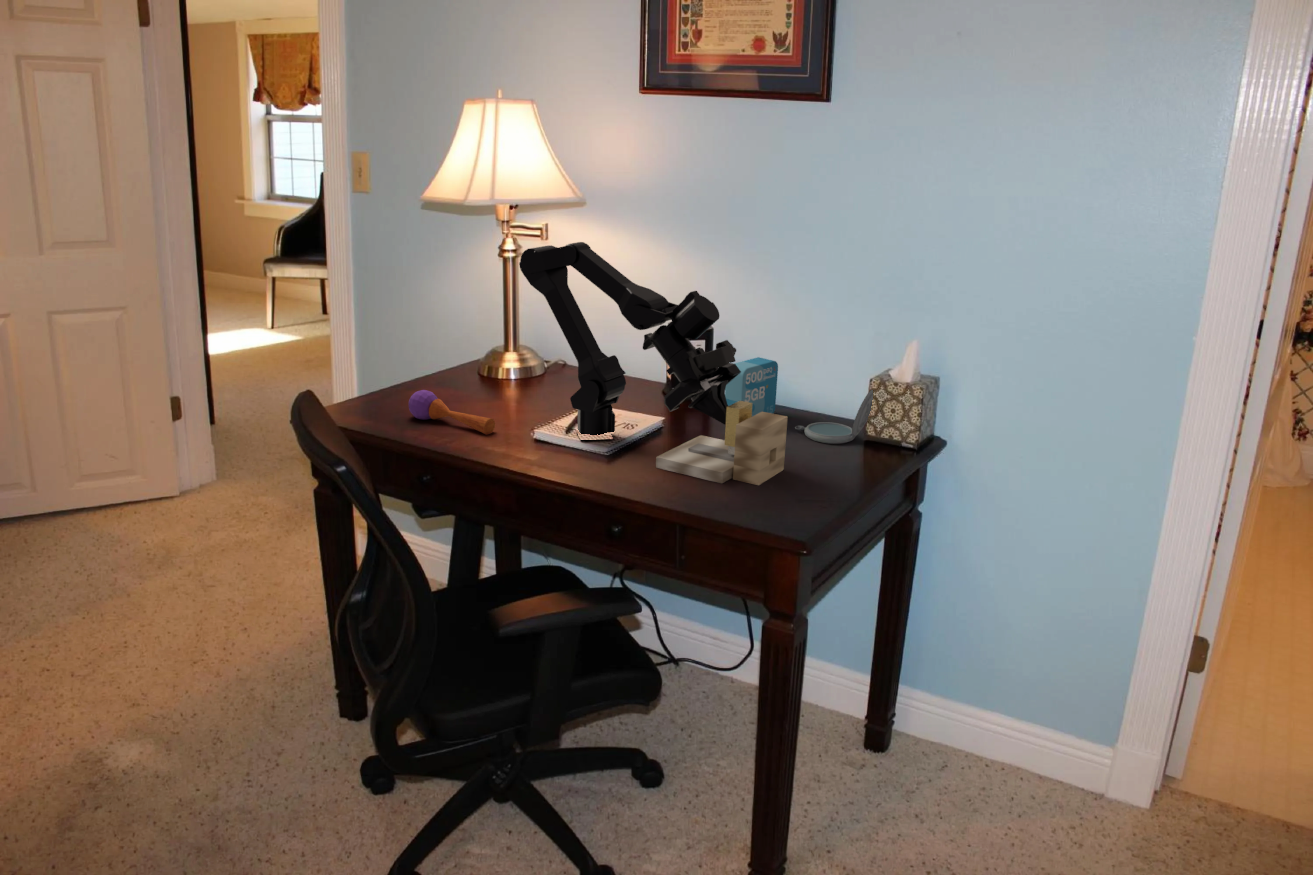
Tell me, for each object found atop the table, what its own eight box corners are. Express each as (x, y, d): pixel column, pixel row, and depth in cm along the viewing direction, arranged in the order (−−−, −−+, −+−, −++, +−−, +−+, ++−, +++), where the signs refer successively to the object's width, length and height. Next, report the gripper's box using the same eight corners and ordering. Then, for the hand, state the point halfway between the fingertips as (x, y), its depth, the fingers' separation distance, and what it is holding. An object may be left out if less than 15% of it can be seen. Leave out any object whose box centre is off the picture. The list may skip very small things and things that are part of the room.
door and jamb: (655, 467, 191) (657, 414, 188) (700, 445, 204) (702, 394, 201) (750, 490, 182) (754, 434, 178) (790, 465, 195) (794, 412, 191)
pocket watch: (865, 396, 201) (790, 384, 207) (859, 451, 204) (786, 437, 211) (880, 384, 209) (808, 373, 216) (875, 437, 212) (804, 425, 219)
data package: (740, 426, 216) (743, 369, 212) (722, 421, 219) (726, 365, 215) (775, 415, 225) (779, 359, 221) (757, 410, 228) (761, 355, 224)
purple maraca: (478, 419, 202) (400, 393, 212) (480, 446, 205) (404, 420, 214) (498, 407, 207) (421, 382, 216) (500, 433, 210) (424, 408, 219)
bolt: (723, 455, 189) (726, 406, 186) (737, 448, 193) (739, 400, 190) (759, 463, 186) (762, 414, 183) (771, 456, 190) (775, 407, 187)
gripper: (681, 336, 180) (736, 411, 178) (734, 319, 195) (784, 387, 193) (641, 374, 186) (693, 446, 184) (694, 355, 201) (743, 421, 199)
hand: (730, 424), depth 190 cm, fingers closed, pressing on bolt
